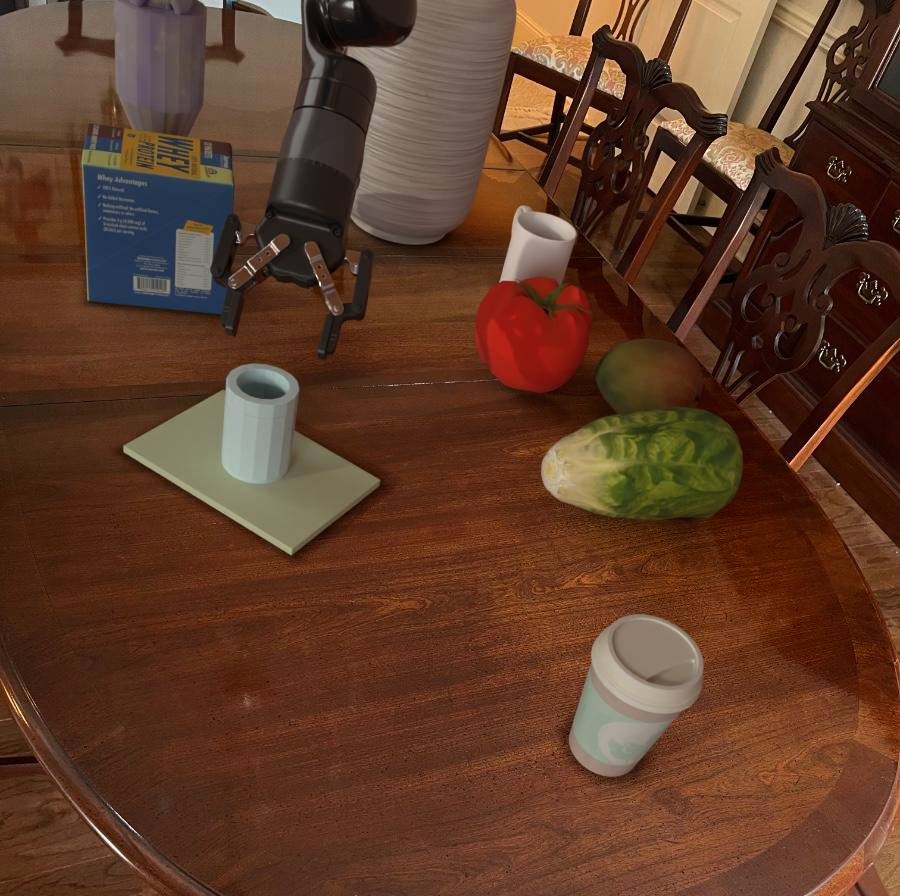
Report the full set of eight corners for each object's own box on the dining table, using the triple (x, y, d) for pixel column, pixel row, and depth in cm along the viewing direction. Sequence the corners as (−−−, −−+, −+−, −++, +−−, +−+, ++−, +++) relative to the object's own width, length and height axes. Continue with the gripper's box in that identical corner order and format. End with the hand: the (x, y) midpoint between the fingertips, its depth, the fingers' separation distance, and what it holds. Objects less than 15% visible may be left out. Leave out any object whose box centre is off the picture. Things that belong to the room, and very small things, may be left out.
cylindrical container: (207, 461, 93) (211, 381, 87) (251, 433, 98) (258, 355, 91) (260, 493, 92) (268, 413, 86) (302, 463, 96) (313, 386, 90)
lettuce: (511, 476, 103) (541, 386, 96) (677, 469, 111) (717, 385, 103) (553, 552, 96) (589, 460, 88) (727, 539, 104) (774, 453, 96)
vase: (360, 175, 148) (400, -87, 125) (484, 221, 146) (548, -36, 123) (302, 220, 134) (335, -66, 111) (439, 272, 132) (501, -8, 109)
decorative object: (155, 226, 124) (156, -47, 103) (101, 192, 127) (91, -79, 107) (216, 209, 131) (229, -51, 110) (163, 176, 134) (165, -81, 113)
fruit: (664, 463, 111) (698, 389, 104) (566, 415, 114) (593, 339, 107) (695, 420, 119) (729, 348, 112) (603, 376, 122) (631, 303, 115)
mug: (562, 317, 130) (586, 243, 123) (508, 316, 127) (530, 239, 120) (529, 271, 138) (550, 198, 131) (477, 268, 135) (496, 193, 128)
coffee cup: (558, 786, 76) (608, 689, 68) (547, 700, 82) (592, 601, 74) (662, 796, 78) (723, 703, 70) (643, 711, 84) (698, 615, 76)
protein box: (92, 256, 116) (86, 121, 105) (226, 271, 120) (233, 142, 109) (85, 302, 109) (79, 162, 98) (228, 316, 113) (236, 183, 102)
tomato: (494, 412, 111) (521, 320, 103) (448, 343, 120) (470, 252, 111) (594, 407, 116) (627, 319, 108) (543, 341, 125) (570, 254, 117)
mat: (123, 452, 93) (123, 445, 92) (222, 395, 102) (223, 389, 102) (291, 555, 88) (292, 549, 87) (379, 486, 98) (380, 479, 97)
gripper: (235, 135, 86) (191, 314, 86) (393, 178, 87) (350, 355, 87) (246, 173, 94) (206, 337, 94) (392, 211, 95) (353, 375, 95)
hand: (276, 346), depth 90 cm, fingers open, 8 cm apart
